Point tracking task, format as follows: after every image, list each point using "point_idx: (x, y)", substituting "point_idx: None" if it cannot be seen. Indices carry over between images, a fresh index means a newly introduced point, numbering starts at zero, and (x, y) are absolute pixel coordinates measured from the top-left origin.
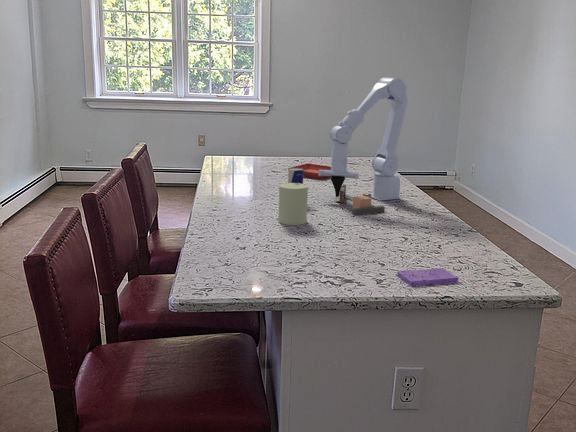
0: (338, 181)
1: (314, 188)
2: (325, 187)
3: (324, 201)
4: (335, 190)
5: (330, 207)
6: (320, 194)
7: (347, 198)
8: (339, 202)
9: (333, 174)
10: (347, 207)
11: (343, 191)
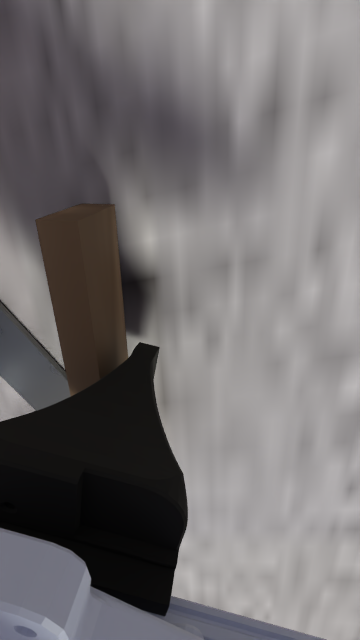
0: (55, 436)
1: (306, 594)
2: (239, 604)
3: (263, 299)
4: (146, 376)
5: (202, 8)
6: (280, 490)
7: None
8: (111, 204)
9: (102, 602)
10: (18, 76)
11: (69, 381)
